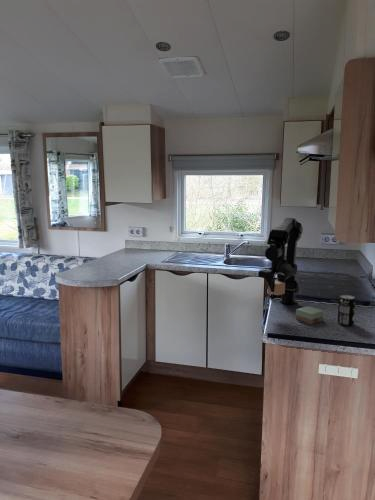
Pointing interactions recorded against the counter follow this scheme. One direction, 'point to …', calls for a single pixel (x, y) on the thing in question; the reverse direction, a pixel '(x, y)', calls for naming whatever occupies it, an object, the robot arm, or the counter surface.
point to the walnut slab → (309, 319)
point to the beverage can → (346, 310)
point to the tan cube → (278, 288)
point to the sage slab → (309, 312)
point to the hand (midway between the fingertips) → (276, 290)
